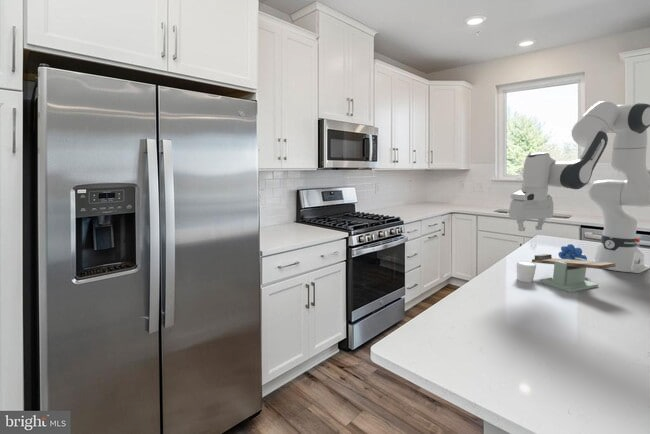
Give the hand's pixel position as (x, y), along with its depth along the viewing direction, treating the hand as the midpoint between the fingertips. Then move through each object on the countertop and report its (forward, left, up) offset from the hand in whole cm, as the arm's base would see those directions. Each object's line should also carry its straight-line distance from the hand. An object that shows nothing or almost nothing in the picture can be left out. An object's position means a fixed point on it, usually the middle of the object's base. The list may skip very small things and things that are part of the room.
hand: (530, 230), depth 139 cm
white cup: (0, 0, -21) cm, 20 cm away
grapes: (-27, 0, -20) cm, 34 cm away
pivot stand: (-11, +10, -20) cm, 25 cm away
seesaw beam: (-11, +10, -12) cm, 19 cm away
